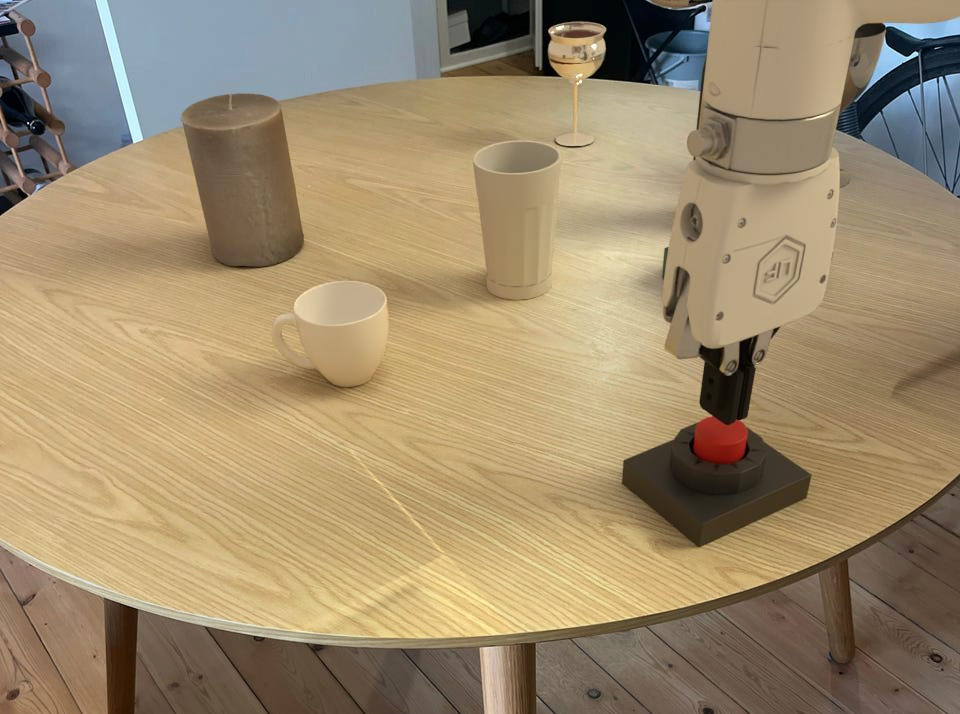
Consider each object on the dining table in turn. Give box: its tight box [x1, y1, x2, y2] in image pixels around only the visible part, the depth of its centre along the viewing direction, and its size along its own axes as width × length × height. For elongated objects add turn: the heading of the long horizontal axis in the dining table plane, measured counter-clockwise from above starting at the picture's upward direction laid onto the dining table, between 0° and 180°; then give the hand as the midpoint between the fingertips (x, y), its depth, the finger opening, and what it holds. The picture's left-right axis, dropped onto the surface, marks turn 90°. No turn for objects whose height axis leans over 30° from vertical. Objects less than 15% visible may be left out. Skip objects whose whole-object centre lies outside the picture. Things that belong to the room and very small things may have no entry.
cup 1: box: [271, 280, 390, 388], centre depth 87 cm, size 8×10×7 cm
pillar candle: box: [180, 92, 305, 268], centre depth 103 cm, size 10×10×15 cm
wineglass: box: [547, 21, 607, 144], centre depth 121 cm, size 7×7×12 cm
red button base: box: [621, 421, 813, 548], centre depth 74 cm, size 10×9×4 cm
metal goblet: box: [838, 23, 887, 189], centre depth 109 cm, size 8×8×15 cm
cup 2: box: [472, 140, 563, 301], centre depth 95 cm, size 8×8×12 cm
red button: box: [693, 415, 748, 464], centre depth 72 cm, size 4×4×2 cm
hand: (722, 412), depth 71 cm, fingers closed
